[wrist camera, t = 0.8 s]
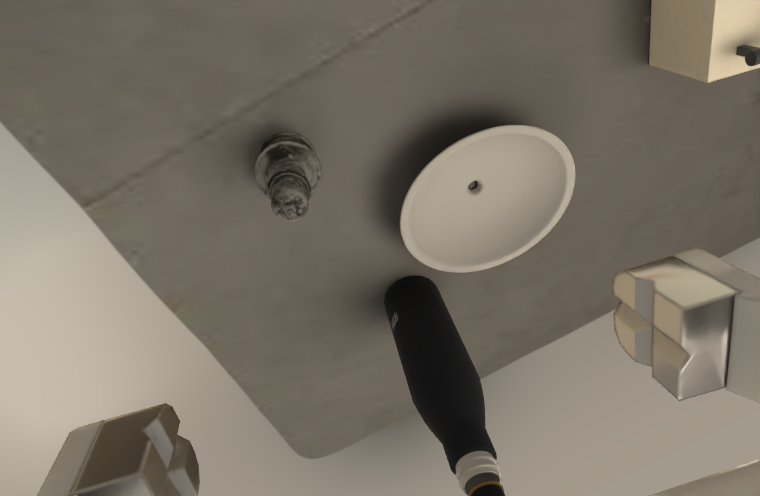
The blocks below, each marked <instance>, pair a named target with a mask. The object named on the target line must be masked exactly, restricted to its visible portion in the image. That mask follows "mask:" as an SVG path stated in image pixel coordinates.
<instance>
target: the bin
mask: <svg viewBox="0 0 760 496" xmlns="http://www.w3.org/2000/svg"><path fill="white" fill-rule="evenodd" d="M649 65H651V66H654V67H658V68H661V69H664V70H668V71H671V72H674V73H677V74H681V75H684V76H687V77H691V78H694V79H697V80H700V81H704V82H707V83H708V82H712V81H715V80H719V79H722V78H726V77H729V76H732V75H736V74H739V73H743V72H746V71H749V70H753V69H756V68H760V0H652V4H651V31H650V58H649Z"/></svg>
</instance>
